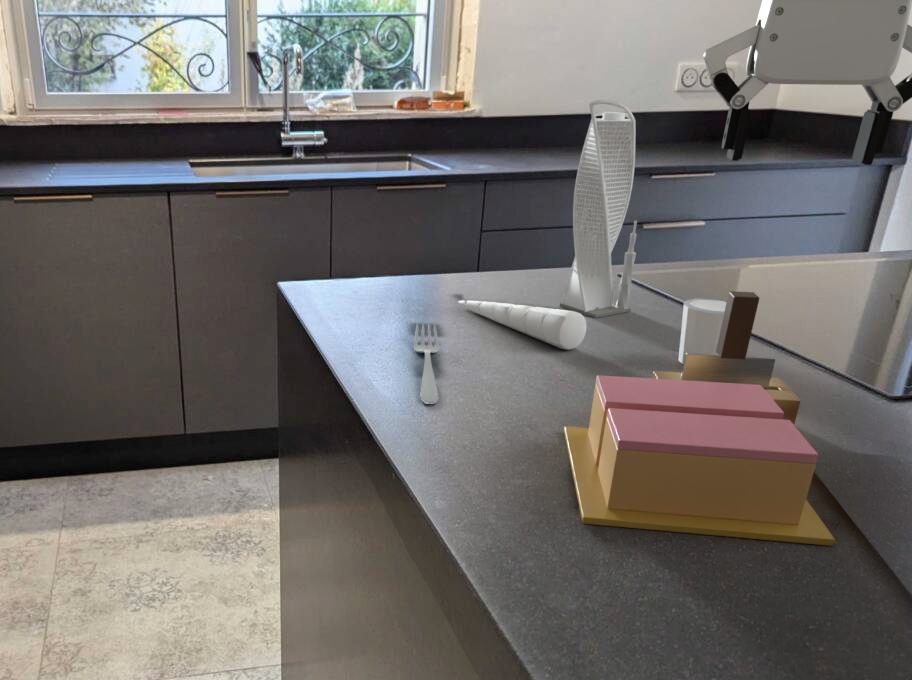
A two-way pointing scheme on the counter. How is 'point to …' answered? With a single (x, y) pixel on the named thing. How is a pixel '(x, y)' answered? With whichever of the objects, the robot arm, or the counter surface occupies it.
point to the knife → (732, 349)
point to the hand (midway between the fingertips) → (796, 161)
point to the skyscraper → (602, 214)
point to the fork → (427, 365)
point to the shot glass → (701, 326)
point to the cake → (694, 461)
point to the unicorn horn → (536, 321)
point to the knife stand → (776, 390)
